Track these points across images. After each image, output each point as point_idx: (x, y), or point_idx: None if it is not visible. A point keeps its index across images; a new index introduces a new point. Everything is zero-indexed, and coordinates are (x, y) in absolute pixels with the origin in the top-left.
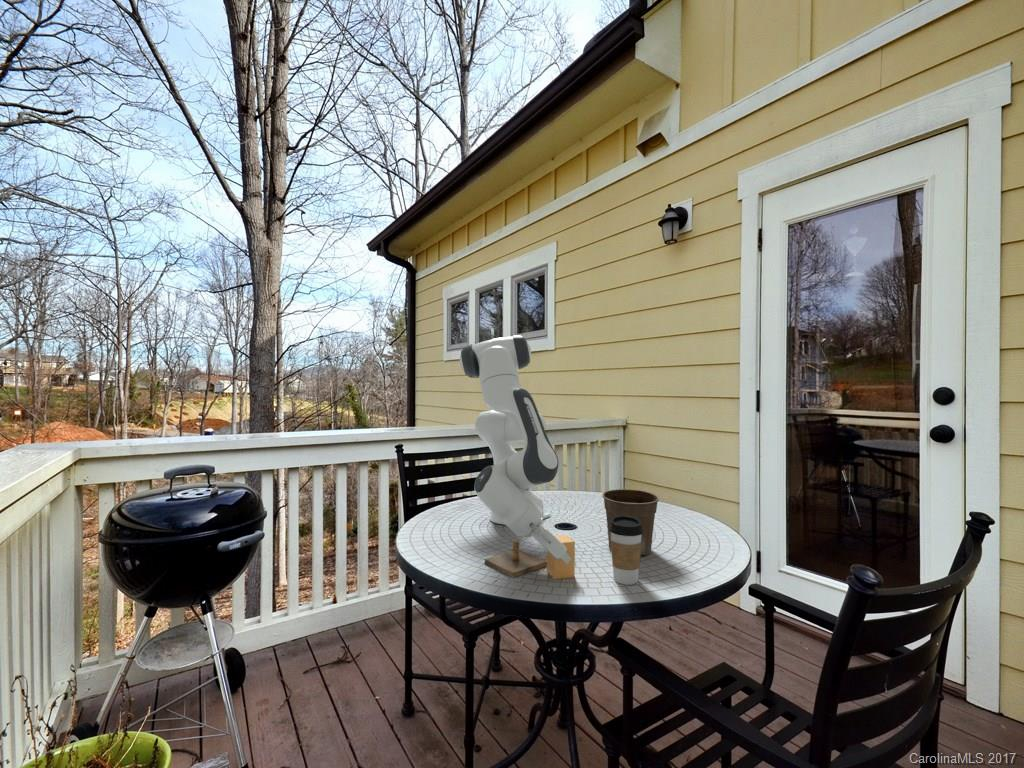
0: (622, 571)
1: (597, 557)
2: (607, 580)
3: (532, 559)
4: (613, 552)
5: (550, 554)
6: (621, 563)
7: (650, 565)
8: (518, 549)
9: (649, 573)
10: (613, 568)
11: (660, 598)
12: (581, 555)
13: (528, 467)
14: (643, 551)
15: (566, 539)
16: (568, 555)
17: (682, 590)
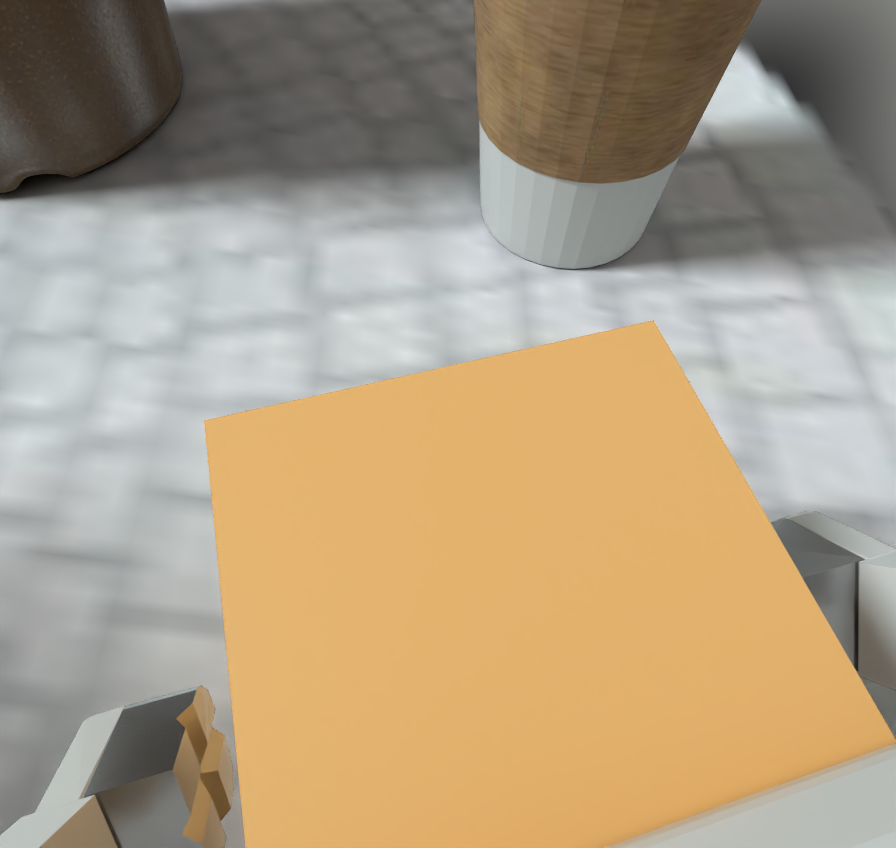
0: (678, 157)
1: (106, 300)
2: (586, 310)
3: None
4: (689, 51)
5: None
6: (708, 99)
7: (326, 65)
8: None
9: (449, 91)
10: (597, 202)
11: (794, 118)
12: (10, 415)
13: None
14: (170, 26)
15: (539, 456)
16: (860, 534)
17: None
